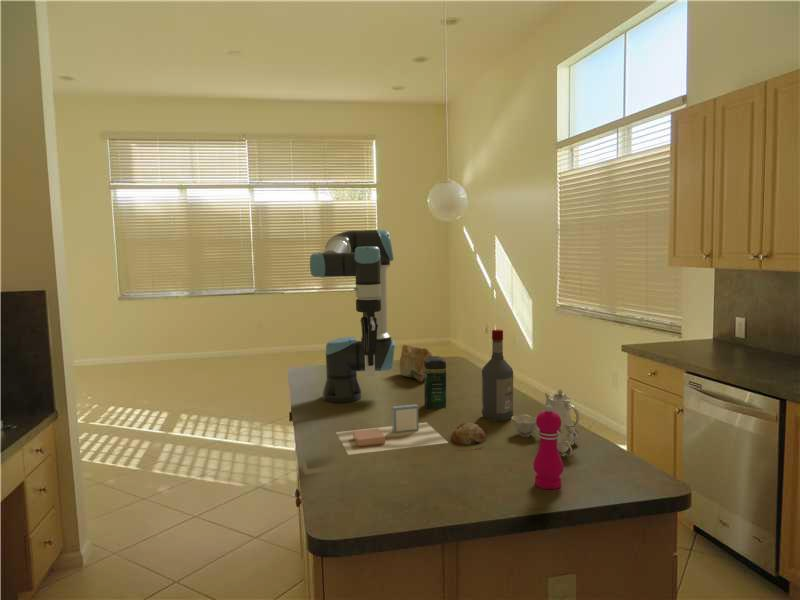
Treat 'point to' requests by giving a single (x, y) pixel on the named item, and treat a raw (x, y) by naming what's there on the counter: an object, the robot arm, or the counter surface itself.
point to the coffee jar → (435, 382)
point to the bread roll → (468, 434)
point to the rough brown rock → (413, 361)
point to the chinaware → (567, 429)
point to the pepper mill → (548, 450)
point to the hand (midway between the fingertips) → (370, 375)
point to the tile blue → (405, 418)
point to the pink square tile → (368, 437)
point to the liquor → (497, 383)
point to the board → (393, 439)
